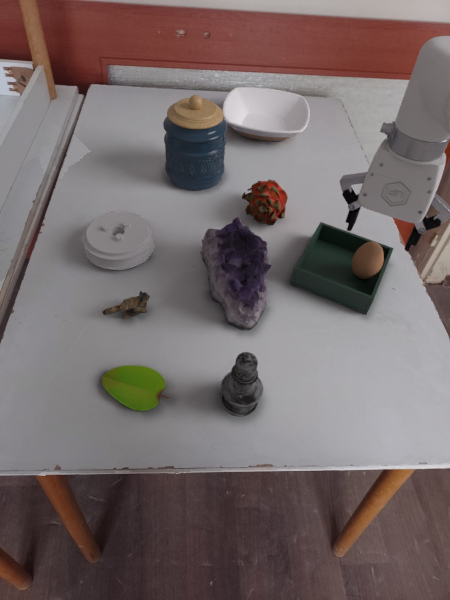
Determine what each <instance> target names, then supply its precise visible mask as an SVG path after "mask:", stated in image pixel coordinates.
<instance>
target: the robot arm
mask: <svg viewBox="0 0 450 600" xmlns="http://www.w3.org/2000/svg"><path fill="white" fill-rule="evenodd" d="M402 97H403V98H402V100H401V103H400V106H399V108H398V111H397V115H396V117H395V120H393V121H392V122H385V121H384V122H382V124H381V126H380V130H379V132H380V133H382V134H384V135H386V138H384V139H383V140H382V142H381V143H380V145H379V146H378V148H377V150H376V152H375V154H374V156H373V158H372V160H371V162H370V165H369V167H368V170H367V171H364V172H357V173H351V174H343V175H342V176H341V177H340V179H339V185H340V188H341V191H342V193H341V195H342V197H343V199H344V201H345V203H346V204H347V205H348V206H347V208H348V213H347V215H346V218H345V223H347V224H348V225H347V227H346V231H347V232H352V230H353V228H354V226H355V224H356V223H357V219H358V216H359V213H360V210H361V209H362V208H364V209H366V210H368V211H372V212H375V213H377V214H381V215H384V216H387V217H389V218H393V219H396V220H399V221H402V222H406V223H410V224H414V225H413V227H412V230H411V232H410V234H409V236H408V238H407V240H406V243H405V246H404V251H406V252H410V249H411V247H412V246H414V247H416V246H417V244H418V243H419V241H420V238H421V237H422V235H423V234H425V233H426V232H427V231H431V230H433V229H436V228H439V227H441V225H442V224H444V223H446V222H447V221H449V220H450V204H449V203H448V202H446V200H444V199H443V197H441V196H440V195H439V194H437V190H438V188H439V186H440V183H441V180H442V177H443V174H444V171H445V167H446V161H447V154H446V153H445V150H446V149H447V147H448V145H449V143H450V35H440V36H439V35H438V36H434V37H432V38H430V39H428V40H427V41H426V42H425V43H424V44H423V45H422V46H421V48H420V49H419V53H418V55H417V58H416V61H415V63H414V66H413V69H412V72H411V73H410V78H409V80H408V83H407V87H406V89H405V92H404V95H403V96H402ZM353 185H361V187H360V189H359V193H356V192H355V190H354V189H353V187H352V186H353ZM430 207H432V208H433V209H435V210H436V211H437V212H438V214H435V215H432V216H429V217H428V215H427V213H428V211H429V210H430Z"/></svg>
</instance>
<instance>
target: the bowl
mask: <svg viewBox="0 0 450 600" xmlns="http://www.w3.org/2000/svg"><path fill="white" fill-rule="evenodd" d="M221 109H222V111H223V113H224V117H223V118H224V120H225V121H226V123H227V126H230V128H232V129H233V130H235V131H236V132H237V133H238V134H239V135H240V136H243V137H245V138H250V139H254V140H258V141H265V142H266V141H267V142H282V141H285V140H287V139H289V138H292V137H295V136H297V135H298V134H301V133H302V132H304V130H305V129H306V128H307V126H308V125H309V121H310V118H311V117H310V116H311V112H310V105H309V103H308V101H307V99H306V98H305V97H304V96H303V95H301V94H298V93H294V92H290V91H285V90H282V89H274V88H268V87H256V86H255V87H254V86H242V87H239V86H237V87H235V88H233V89H232V90H231V91H229V92H228V94H227V95H226V97H225V99H224V101H223V103H222V108H221Z"/></svg>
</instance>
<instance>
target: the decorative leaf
mask: <svg viewBox="0 0 450 600" xmlns="http://www.w3.org/2000/svg"><path fill="white" fill-rule="evenodd" d="M101 385H102V386H103V388H104V389H105V391H106V392H107V393H108V394H109V395H110V396H112V398H114V399H115V400H116V401H118V402H119V403H120V404H122V405H123V406H125V407H127V408H129V409H132V410H134V411H139V412H143V411H145V412H146V411H149V410H152V409H154V408H157V406H158V405H159V403H160V397H163V398H166V399H170V397H169V396H167V395H164V394H162V393H163V392H164V390H165V389H166V386H167V384H166V380H165V378H164V376H163V375H162V374H161V373H160V372H158V371H157V370H155V369H154V368H151V367H149V366H146V365H145V366H144V365H138V364H137V365H136V364H127V365H119V366H116V367H113V368H110V369H108V371H106V372H105V373H104V374H103V375H102V377H101Z"/></svg>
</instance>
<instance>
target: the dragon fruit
mask: <svg viewBox="0 0 450 600" xmlns="http://www.w3.org/2000/svg"><path fill="white" fill-rule="evenodd" d="M247 191H250V192H248V193H246V192H243V194H242V195H241V199H243V200H245V201H246V202H248V205H247V206H246V208H245V209H244V211H245V213H246V215H250V216H252V218H253V220H254V222H256V223H263V224H265V225H267V227H268V226H269V227H270V226H274V225H275V224H276V222H277V221H278V219H280V220H281V219H285V216H286V205H287V202H288V194H287V191H286V190H285V189H283V188H282V186H281V185H280V184H279V183H278V182H277V181H276V180H275V179H268V180H267V181H266V180H258V181H257V182H253V183H252V184H251V187H249V188H247Z"/></svg>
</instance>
